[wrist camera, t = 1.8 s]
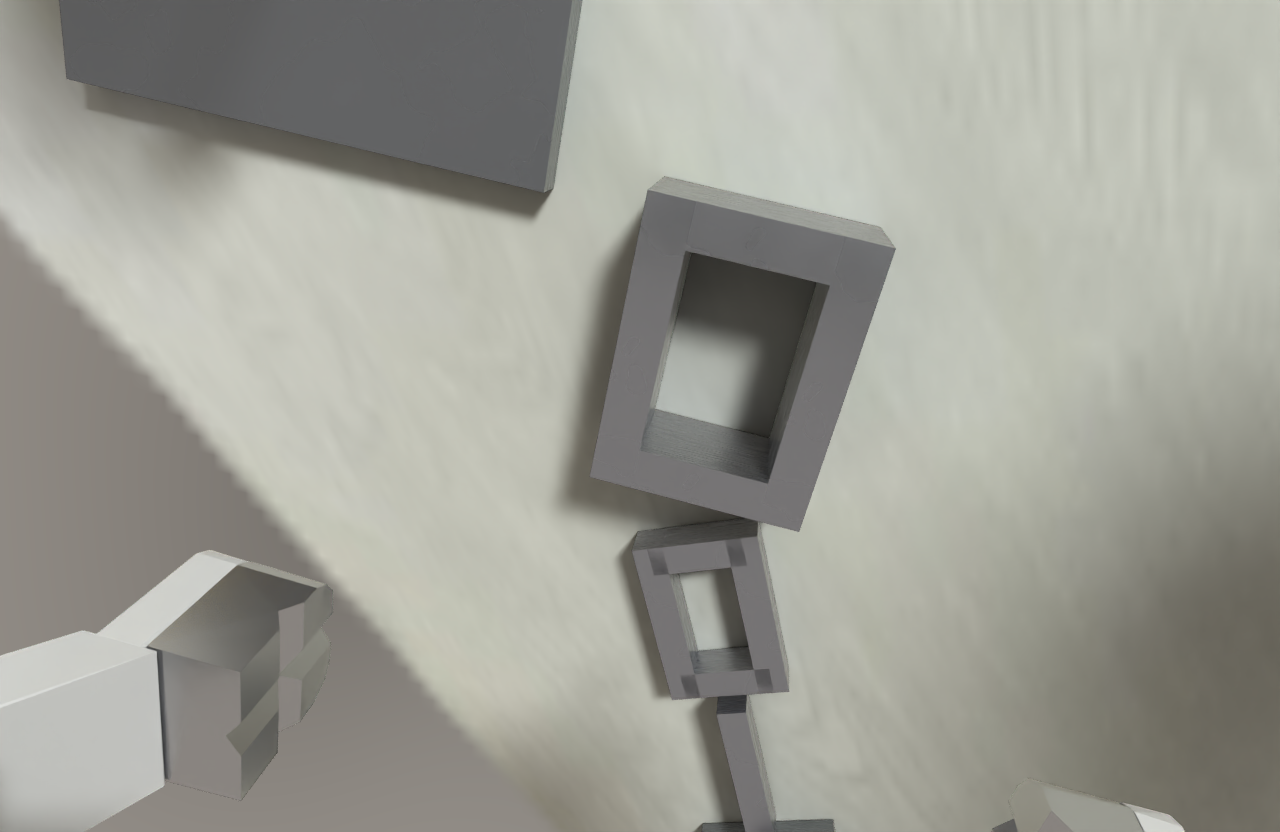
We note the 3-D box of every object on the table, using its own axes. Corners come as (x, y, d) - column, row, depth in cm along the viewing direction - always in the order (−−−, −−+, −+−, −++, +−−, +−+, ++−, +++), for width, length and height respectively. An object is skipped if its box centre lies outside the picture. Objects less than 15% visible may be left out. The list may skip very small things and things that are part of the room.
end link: (880, 227, 21) (896, 248, 18) (796, 481, 24) (798, 532, 22) (664, 176, 21) (647, 190, 19) (610, 433, 25) (589, 476, 22)
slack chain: (774, 514, 25) (773, 588, 21) (847, 894, 31) (857, 1002, 27) (623, 533, 26) (598, 605, 22) (722, 895, 32) (715, 999, 28)
